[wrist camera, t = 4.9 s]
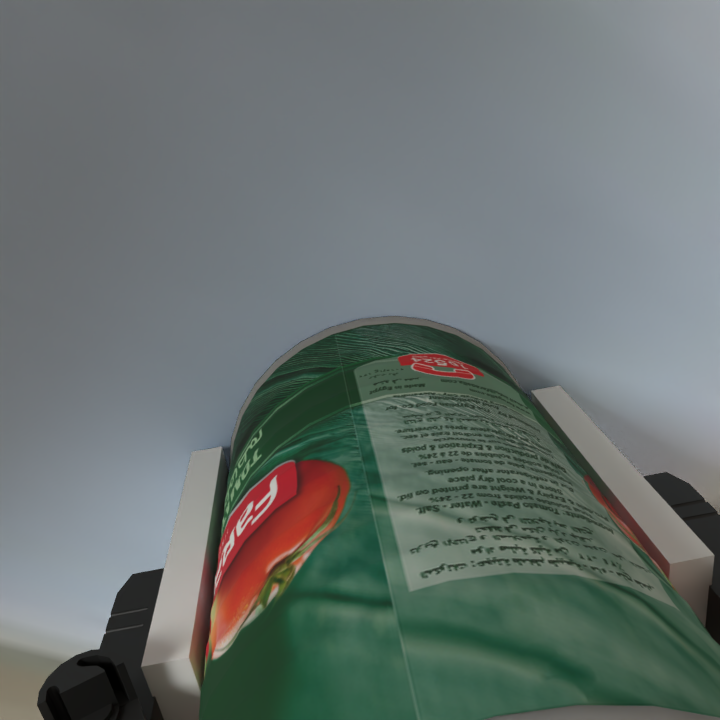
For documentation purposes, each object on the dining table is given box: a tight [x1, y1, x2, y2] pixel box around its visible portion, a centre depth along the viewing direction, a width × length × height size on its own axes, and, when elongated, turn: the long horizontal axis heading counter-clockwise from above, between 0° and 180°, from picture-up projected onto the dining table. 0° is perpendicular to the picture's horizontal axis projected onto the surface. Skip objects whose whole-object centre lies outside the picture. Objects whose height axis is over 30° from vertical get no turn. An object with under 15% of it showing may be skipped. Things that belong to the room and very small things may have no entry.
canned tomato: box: [199, 316, 720, 720], centre depth 12 cm, size 8×8×11 cm
